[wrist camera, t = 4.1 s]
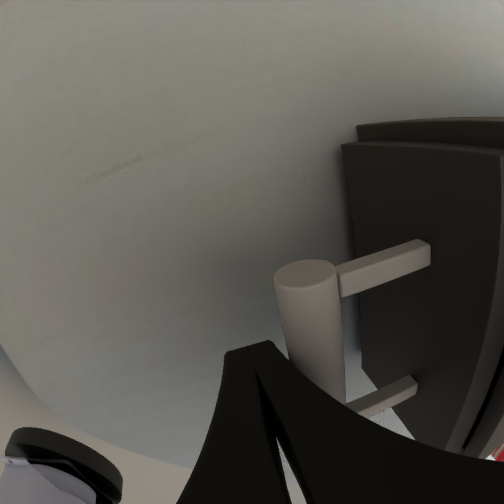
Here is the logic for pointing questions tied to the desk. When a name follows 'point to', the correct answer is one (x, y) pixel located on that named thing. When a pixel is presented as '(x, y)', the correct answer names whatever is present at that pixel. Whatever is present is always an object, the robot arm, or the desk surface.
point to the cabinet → (471, 133)
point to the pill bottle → (499, 453)
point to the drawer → (411, 287)
